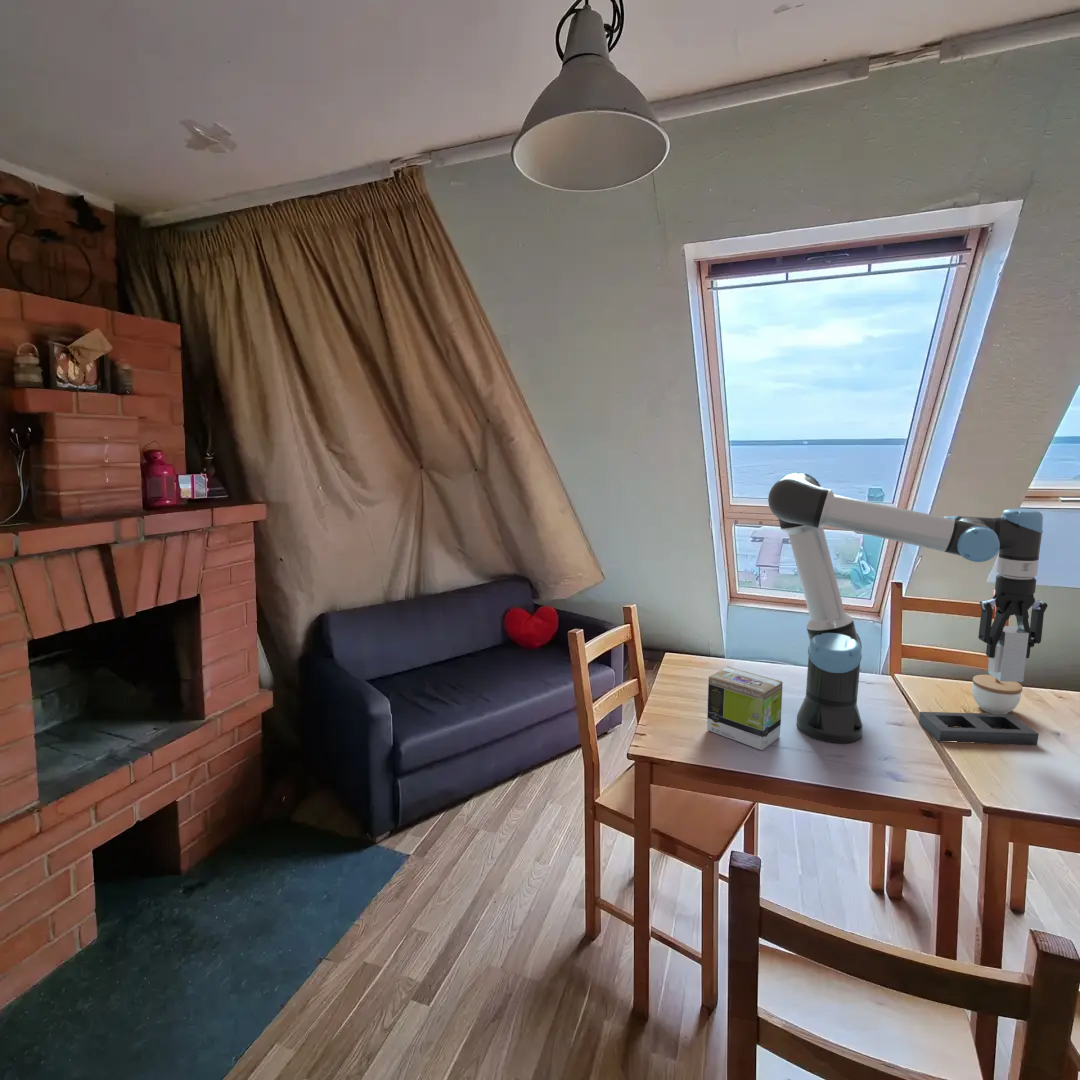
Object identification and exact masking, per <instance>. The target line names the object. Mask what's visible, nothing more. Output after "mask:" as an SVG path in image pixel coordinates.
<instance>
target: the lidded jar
mask: <svg viewBox="0 0 1080 1080" xmlns="http://www.w3.org/2000/svg"><path fill="white" fill-rule="evenodd" d="M971 691H972V696H973V699H974V701H975V703H977V705H978V706H979V707H980V709H981V710H982V711H984V712H986V713H988V714H1009V713H1010V712H1012V711H1013V710H1015V709H1016V708H1017V706H1018V705H1019V703H1020V701H1021V696H1022V692H1023V686H1022V684H1020V683H1019V682H1007V681H999V680H997V679H996V678H994V677H993V676H992V675H990V674H977V675H975V676H973V678H972V690H971Z"/></svg>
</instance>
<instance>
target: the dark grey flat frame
mask: <svg viewBox="0 0 1080 1080" xmlns="http://www.w3.org/2000/svg"><path fill="white" fill-rule="evenodd" d="M918 724H920V725H921V726H922V727H923V728H924V729H925V730H926V731H927V732H928V733H929V734H930V735H931V736H932V737H933V738H934V739H936V741H938V743H941V742H940V741H957V742H974V743H973V744H984V743H987V744H988V745H990V744H991V745H1017V746H1018V745H1019V746H1038V742H1039V741H1038V740H1039V735H1040V734H1039V733H1038V732H1037V731H1036V730H1034V729H1033V728H1032V727H1030V726H1029V725H1027V724H1026V723H1024V722H1023V721H1022V720H1020V719H1019V718H1017V717H1016V716H1015V715H1013V714H1011V713H1010V714H1009V713H1007V714H992V713H979V712H977V713H975V712H942V711H940V712H938V711H920V712H919V718H918ZM947 725H948V726H961V727H962V728H961V727H948V726H947Z"/></svg>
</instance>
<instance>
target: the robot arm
mask: <svg viewBox="0 0 1080 1080" xmlns="http://www.w3.org/2000/svg"><path fill="white" fill-rule="evenodd" d="M767 502H768V507H769V509H770V511H771V513H772V514H773V515H774V516H775V517H776V518H777V519H778V524H779V527H780V530H781V531H784V532H785V533H787V535H788V538H789V540H790V546H791V549H792V553H793V557H794V561H795V564H796V568H797V572H798V576H799V580H800V584H801V587H802V591H803V594H804V599H805V602H806V603H805V604H806V608H807V611H808V615H809V619H810V620H808V622H807V624H806V625H805V627H806V631H807V634H808V638H809V645H808V648H807V655H808V659H807V671H806V672H807V675H806V686H805V687H806V688H805V696H804V698H803V700H802V703H801V705H800V707H799V710H798V712H797V714H796V722H795V723H796V727H797V728H798V729H799V730H800V731H801V732H802V733H804V735H806V736H808V737H810V738H814V739H816V740H819V741H821V742H822V741H823V742H826V743H827V742H829V743H834V744H849V743H854V742H857V741H859V740H861V738H862V736H863V729H864V728H863V723H862V719H861V715H860V711H859V707H858V693H859V681H860V672H861V671H860V670H861V662H862V659H863V658H862V657H863V653H862V641H861V637H860V636H859V634H858V632H857V629H856V625H855V622H854V618H853V617H852V616H851V615H849V614H848V613H846V611H845V609H844V604H843V600H842V597H841V596H842V595H841V593H840V589H839V584H838V580H837V578H836V574H835V570H834V565H833V562H832V557H831V554H830V551H829V546H828V542H827V538H826V534H825V530H824V527H826V526H828V527H831V528H836V529H840V530H846V531H850V532H854V533H858V534H864V535H867V536H868V535H869V536H872V537H877V538H882V539H886V540H890V541H895V542H899V543H904V544H909V545H913V546H917V547H921V548H925V549H929V550H930V549H931V550H935V551H939V552H944V553H947V554H951V555H956V556H961V557H962V558H964V559H966V560H968V561H970V562H974V563H983V562H987V561H989V560H991V559H993V558H994V557H995V556H996V555H998V556H997V563H996V565H997V566H996V573H997V575H996V576H995V582H994V583H995V584H994V590H995V593H994V595H993V596H992V598H991V599H987V600H983V599H981V600H980V601H979V606H980V609H981V612H980V621H979V628H978V629H979V630H978V636H977V637H978V639H979V640H980V641H982V642H983V643H985V644H986V651H985V654H986V656H987V657H988V662H987V663H988V664H987V665H988V666H987V669H990V670H992V671H993V672H998V665H999V656H1000V647H1001V646H999V645H997V643H998V641H999V638H1000V636H1001V633H1002V631H1003V628H1004V626H1006V623H1007V621H1008V620H1009V619H1010V617H1011V616H1015V619H1016V624H1017V627H1018V628H1019V629H1021V630H1023V631H1026V632H1028V633H1029V636H1028V645H1027V654H1026V659H1029V658H1030V655H1031V648H1033V647H1034V646H1035V644H1040V643H1041V642H1042V638H1043V627H1044V625H1043V624H1044V615H1045V612H1046V610H1047V608H1048V603H1046V602H1045V601H1044V602H1043V601H1041V600H1040V599H1039V600H1036V598H1035V596H1034V595H1035V593H1036V589H1037V587H1036V586H1037V579H1036V578H1035V577H1036V576H1037V575H1038V567H1039V559H1040V549H1041V543H1042V536H1043V533H1044V531H1043V527H1044V526H1043V521H1044V520H1043V519H1044V516H1043V514H1042V512H1040V511H1039V510H1036V509H1031V508H1030V509H1029V508H1007V509H1004V510H1003V512H1002V515H1001V516H1000V517H999V516H997V517H982V516H981V517H979V516H961V515H954V516H953V515H952V516H951V515H949V516H948V515H947V516H944V517H943V516H938V515H934V514H929V513H925V512H919V511H916V510H909V509H905V508H900V507H895V506H891V505H890V506H889V505H886V504H881V503H875V502H872V501H865V500H861V499H856V498H853V497H847V496H842V495H838V494H834V492H833V490H832V489H830V488H825V487H822V485H821V484H820V483H819V481H818V480H817V479H816V478H815V477H813V475H810V474H809V473H808V474H807V473H803V472H793V473H789V474H787V475H785V476H783V477H781V479H779V480H777V481H776V482H775V483H774V484H773V485H772V487H771V489H770V490H769V493H768V499H767ZM995 606H996V610H995ZM1030 608H1032V609H1031V612H1030V613H1031V615H1030V614H1029V610H1030ZM993 610H995V612H994V611H993ZM993 612H994V614H995V616H994V615H993ZM1029 615H1030V616H1029ZM993 616H994V620H993ZM1029 619H1030V622H1029Z"/></svg>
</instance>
